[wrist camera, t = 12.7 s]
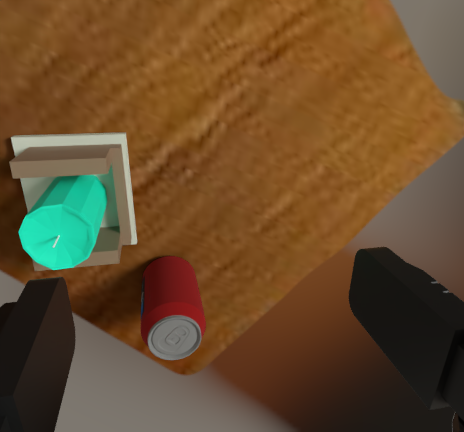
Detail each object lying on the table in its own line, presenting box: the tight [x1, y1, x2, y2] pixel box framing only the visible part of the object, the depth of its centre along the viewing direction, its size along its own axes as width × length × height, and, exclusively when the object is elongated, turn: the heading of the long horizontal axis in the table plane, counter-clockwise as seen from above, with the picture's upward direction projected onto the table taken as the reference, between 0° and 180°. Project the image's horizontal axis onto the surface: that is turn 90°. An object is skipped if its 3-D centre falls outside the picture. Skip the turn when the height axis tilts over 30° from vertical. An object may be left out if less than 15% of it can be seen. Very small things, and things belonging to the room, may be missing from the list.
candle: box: [18, 175, 107, 270], centre depth 35 cm, size 6×6×12 cm
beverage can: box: [141, 256, 206, 360], centre depth 42 cm, size 7×7×12 cm
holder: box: [9, 132, 137, 271], centre depth 38 cm, size 13×11×7 cm
